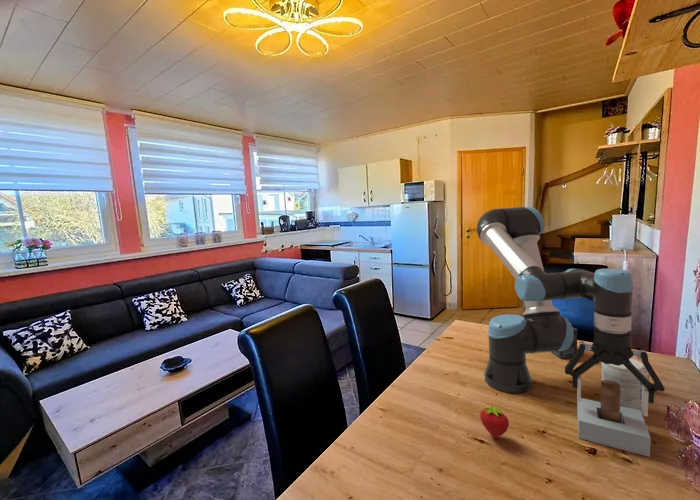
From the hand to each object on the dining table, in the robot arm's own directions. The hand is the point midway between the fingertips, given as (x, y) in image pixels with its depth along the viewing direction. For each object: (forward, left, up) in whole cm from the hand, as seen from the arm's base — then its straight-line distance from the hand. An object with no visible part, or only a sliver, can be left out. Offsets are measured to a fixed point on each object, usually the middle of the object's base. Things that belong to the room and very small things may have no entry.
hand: (610, 405), depth 85 cm
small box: (-12, +50, -8) cm, 52 cm away
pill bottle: (+10, +29, -8) cm, 32 cm away
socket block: (0, 0, -8) cm, 8 cm away
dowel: (0, 0, -8) cm, 8 cm away
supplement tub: (+4, +14, -8) cm, 17 cm away
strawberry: (-26, -16, -8) cm, 32 cm away
